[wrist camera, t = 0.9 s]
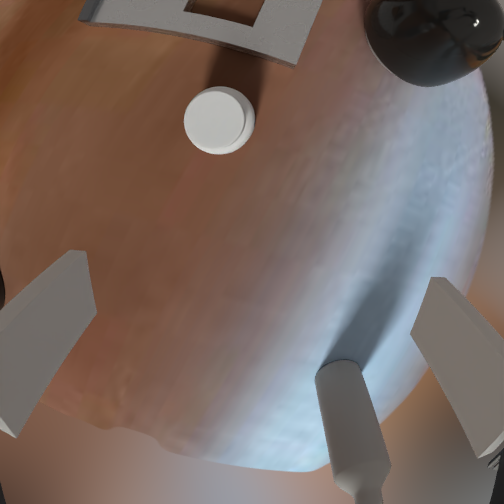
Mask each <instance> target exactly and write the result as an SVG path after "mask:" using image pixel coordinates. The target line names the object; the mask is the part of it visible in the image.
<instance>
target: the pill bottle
mask: <svg viewBox="0 0 504 504" xmlns="http://www.w3.org/2000/svg"><path fill="white" fill-rule="evenodd" d="M184 126H185V130H186V133H187V135H188V137H189V139H190V140H191V142H192V143H193V144H194V145H195V146H196V147H198V148H199V149H201V150H203V151H205V152H207V153H211V154H227V153H231V152H233V151H235V150H237V149H239V148H240V147H242V146H243V145H244V144H245V143H246V141H247V140H248V139H249V137H250V136H251V134H252V132H253V130H254V127H255V113H254V109H253V107H252V105H251V103H250V102H249V100H248V99H247V98H246V97H245V96H244V95H243V94H242V93H240V92H239V91H237V90H235V89H232V88H229V87H223V86H218V87H211V88H208V89H206V90H204V91H202V92H200V93H199V94H197V95H196V96H195V97H194V98H193V99H192V101H191V102H190V104H189V105H188V107H187V109H186V112H185V115H184Z"/></svg>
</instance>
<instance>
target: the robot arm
mask: <svg viewBox="0 0 504 504" xmlns="http://www.w3.org/2000/svg"><path fill="white" fill-rule="evenodd" d="M4 301H5V292H4V285H3V281H2V277H1V274H0V429H1V430H2V431H4V432H6V433H8V434H10V435H11V436H13V437H15V438H17V437H18V435H19V434H20V432H21V430H22V428H23V426H24V424H25V423H26V421H27V419H28V417H29V416H30V414H31V412H32V411H33V409H34V407H35V406H36V404H37V402H38V401H39V399H40V397H41V396H42V394H43V392H44V391H45V389H46V388H47V386H48V384H49V383H50V381H51V380H52V378H53V376H54V375H55V373H56V372H57V370H58V369H59V367H60V366H61V364H62V363H63V361H64V360H65V358H66V357H67V355H68V354H69V352H70V351H71V349H72V348H73V346H74V345H75V343H76V342H77V340H78V339H79V338H80V336H81V335H82V333H83V332H84V330H85V329H86V328H87V326H88V325H89V323H90V322H91V321H92V319H93V318H94V316H95V315H96V314H97V311H96V306H95V301H94V296H93V291H92V286H91V280H90V275H89V269H88V262H87V256H86V251H78V250H69V251H68V252H67V253H65V254H64V255H63V256H62V257H60V258H59V259H58V260H57V261H55V262H54V263H53V264H52V265H51V266H49V267H48V268H47V269H46V270H45V271H43V272H42V273H41V274H40V275H39V276H38V277H36V278H35V279H34V280H33V281H32V282H31V283H30V284H28V285H27V286H26V287H25V288H24V289H23V290H22V291H21V292H20V293H18V294H17V295H16V296H15V297H14V298H13V299H12V300H11V301H10V302H9V303H8V304H7V305H6V306H5V307H3V306H4ZM410 335H411V336H412V338H413V340H414V341H415V343H416V344H417V346H418V348H419V349H420V351H421V353H422V354H423V356H424V358H425V359H426V361H427V363H428V365H429V366H430V368H431V370H432V371H433V373H434V375H435V377H436V378H437V380H438V382H439V384H440V386H441V387H442V389H443V391H444V393H445V395H446V397H447V398H448V400H449V402H450V404H451V406H452V408H453V410H454V411H455V413H456V415H457V417H458V419H459V421H460V423H461V425H462V427H463V429H464V431H465V433H466V435H467V437H468V440H469V442H470V444H471V446H472V448H473V450H474V452H475V454H476V457H477V458H480V457H482V456H484V455H487V454H489V453H491V452H493V451H494V450H495V449H496V448H497V447H498V446H499V445H500V443H502V442H503V440H504V340H503V338H502V337H501V336H500V335H499V334H498V332H497V331H495V329H494V328H493V327H492V326H491V324H490V323H489V322H488V321H487V320H486V319H485V318H484V317H483V316H482V315H481V314H480V313H479V311H478V310H477V309H476V308H475V307H474V306H473V305H472V304H471V303H470V302H469V301H468V300H467V299H466V298H465V297H464V296H463V295H462V294H461V293H460V292H459V291H458V290H457V289H456V288H455V287H454V286H453V285H452V284H451V283H450V282H449V281H448V280H447V279H446V278H442V277H431V279H430V282H429V285H428V288H427V291H426V294H425V296H424V299H423V302H422V305H421V307H420V310H419V313H418V315H417V318H416V320H415V323H414V325H413V328H412V330H411V333H410ZM497 460H500V461H499V463H497V464H496V465H495V466H494V468H493V469H494V470H497V476H496V480H495V485H494V489H493V493H492V497H491V501H490V504H504V448H503V449H502V451H501V452H499V454H498V455H496V456H495V458H493V459H492V460H491V461H490V462H489V464H488V468H490V467H491V466H492V465H493V464H494V463H495V462H496V461H497ZM0 504H6V502H5V499H4V495H3V491H2V487H1V483H0Z"/></svg>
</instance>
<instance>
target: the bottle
mask: <svg viewBox="0 0 504 504" xmlns="http://www.w3.org/2000/svg"><path fill="white" fill-rule="evenodd" d="M315 385H316V390H317V396H318V401H319V406H320V411H321V416H322V421H323V426H324V431H325V436H326V441H327V446H328V452H329V457H330V462H331V468H332V473H333V478H334V482H335V483H336V485H338V487H339V488H341V489H342V490H344V491H346V492H347V493H349V494H350V495H351V496H353V498H354V500H355V504H383V498H382V492H381V488H382V486H383V483H384V481H385V479H386V477H387V476H388V474H389V471H390V468H391V462H390V459H389V455H388V452H387V449H386V445H385V442H384V439H383V436H382V433H381V429H380V426H379V423H378V420H377V417H376V413H375V410H374V407H373V404H372V401H371V398H370V395H369V392H368V389H367V387H366V384H365V381H364V378H363V375H362V373H361V370H360V367H359V365H358V364H357V363H355V362H354V361H351V360H337V361H333V362H331V363H329V364H326V365H325V366H323V367H322V368H321V369H320V370H319V371H318V372H317V374H316V376H315Z"/></svg>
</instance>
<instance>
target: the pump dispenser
mask: <svg viewBox="0 0 504 504" xmlns="http://www.w3.org/2000/svg"><path fill="white" fill-rule="evenodd" d="M364 24H365V33H366V38H367V42H368V45H369V47H370V49H371V51H372V53H373V54H374V56H375V57H376V59H377V60H378V61H379V62H380V64H381V65H382V66H383V67H384V68H386V69H387V70H388V71H389V72H391V73H392V74H394V75H395V76H397V77H399V78H400V79H402V80H404V81H406V82H408V83H410V84H413V85H416V86H421V87H435V86H440V85H444V84H447V83H450V82H452V81H455V80H457V79H460V78H462V77H464V76H466V75H468V74H469V73H471V72H473V71H474V70H476V69H477V68H478V67H480V66H481V65H482V64H484V63H485V62H486V61H487V60H488V59H489V58H490V57H491V56H492V55H493V54H494V53H495V52H496V50H497V49H498V48H499V46H500V45H501V43H502V40H504V12H503V9H502V7H501V5H500V3H499V2H498V1H497V0H371V2H370V3H369V5H368V6H367V9H366V12H365V18H364Z"/></svg>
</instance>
